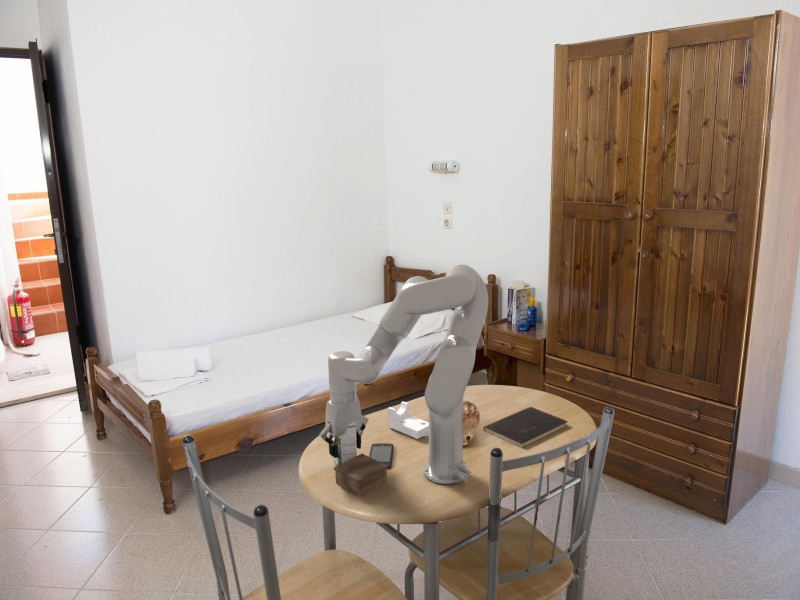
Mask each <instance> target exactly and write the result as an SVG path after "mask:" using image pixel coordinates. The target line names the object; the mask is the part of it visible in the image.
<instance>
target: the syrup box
mask: <svg viewBox="0 0 800 600" xmlns="http://www.w3.org/2000/svg"><path fill="white" fill-rule="evenodd" d="M333 437H334V436H333ZM336 445H337V448H338V457H337V458H334V457H333V463H334V467H335V466H337V465H339V464H341V463H343V462H345V461H347V460H350V459H352V458H354V457H356V456H358V451H357V449H358V448H357V444H356V423H355V422H354V423H350V425H348V428H347V430H346V433H345V434H344V435H341V436H339V437H338V439H337V442H336Z"/></svg>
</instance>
